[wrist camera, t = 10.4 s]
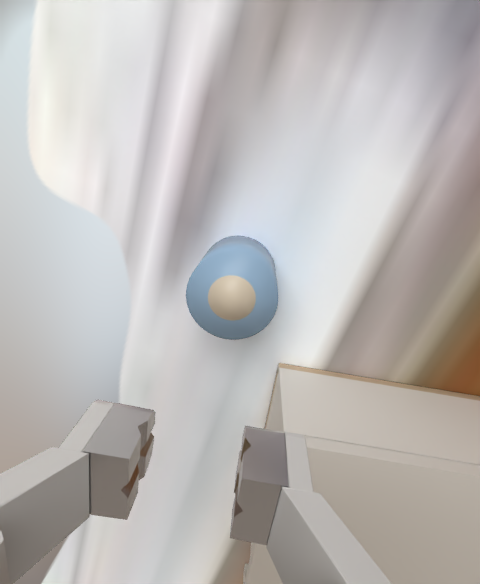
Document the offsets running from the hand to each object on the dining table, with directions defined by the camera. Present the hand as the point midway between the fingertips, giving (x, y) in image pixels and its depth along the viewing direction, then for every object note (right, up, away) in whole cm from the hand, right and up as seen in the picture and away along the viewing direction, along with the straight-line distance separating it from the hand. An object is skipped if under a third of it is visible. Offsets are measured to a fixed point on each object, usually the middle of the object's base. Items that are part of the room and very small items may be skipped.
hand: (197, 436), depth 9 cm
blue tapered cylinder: (+1, +5, +14) cm, 15 cm away
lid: (+10, -11, +13) cm, 20 cm away
